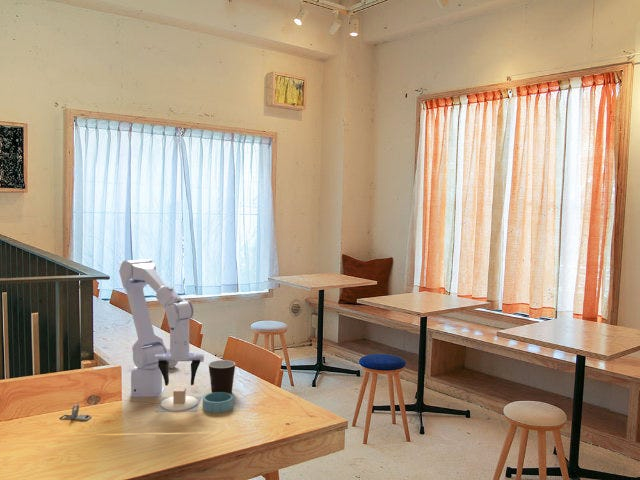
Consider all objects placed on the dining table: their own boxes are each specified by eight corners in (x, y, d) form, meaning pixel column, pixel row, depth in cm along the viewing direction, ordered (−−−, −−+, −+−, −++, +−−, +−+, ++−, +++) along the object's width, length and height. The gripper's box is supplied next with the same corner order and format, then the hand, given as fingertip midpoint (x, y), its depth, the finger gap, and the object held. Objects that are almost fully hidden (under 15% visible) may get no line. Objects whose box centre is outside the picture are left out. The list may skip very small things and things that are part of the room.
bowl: (201, 414, 165) (201, 402, 164) (204, 403, 174) (204, 392, 173) (231, 413, 166) (232, 402, 165) (233, 402, 174) (233, 391, 174)
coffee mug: (229, 399, 177) (229, 369, 176) (204, 397, 179) (204, 366, 178) (241, 387, 188) (242, 358, 188) (217, 385, 190) (218, 356, 189)
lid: (157, 411, 165) (157, 396, 165) (164, 397, 176) (164, 383, 176) (195, 410, 166) (195, 395, 166) (199, 397, 177) (199, 383, 177)
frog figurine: (182, 365, 211) (182, 347, 211) (175, 370, 205) (175, 352, 204) (166, 364, 212) (166, 346, 212) (159, 370, 205) (159, 351, 205)
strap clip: (92, 418, 161) (92, 404, 161) (86, 422, 158) (86, 407, 158) (64, 416, 162) (64, 402, 162) (58, 420, 159) (58, 405, 158)
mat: (155, 413, 165) (155, 411, 165) (163, 398, 177) (163, 397, 177) (196, 412, 166) (196, 411, 166) (201, 397, 178) (201, 396, 178)
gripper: (152, 344, 165) (152, 389, 166) (202, 344, 167) (202, 388, 168) (157, 338, 172) (157, 381, 173) (204, 338, 174) (204, 380, 175)
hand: (179, 384), depth 171 cm, fingers open, 7 cm apart
